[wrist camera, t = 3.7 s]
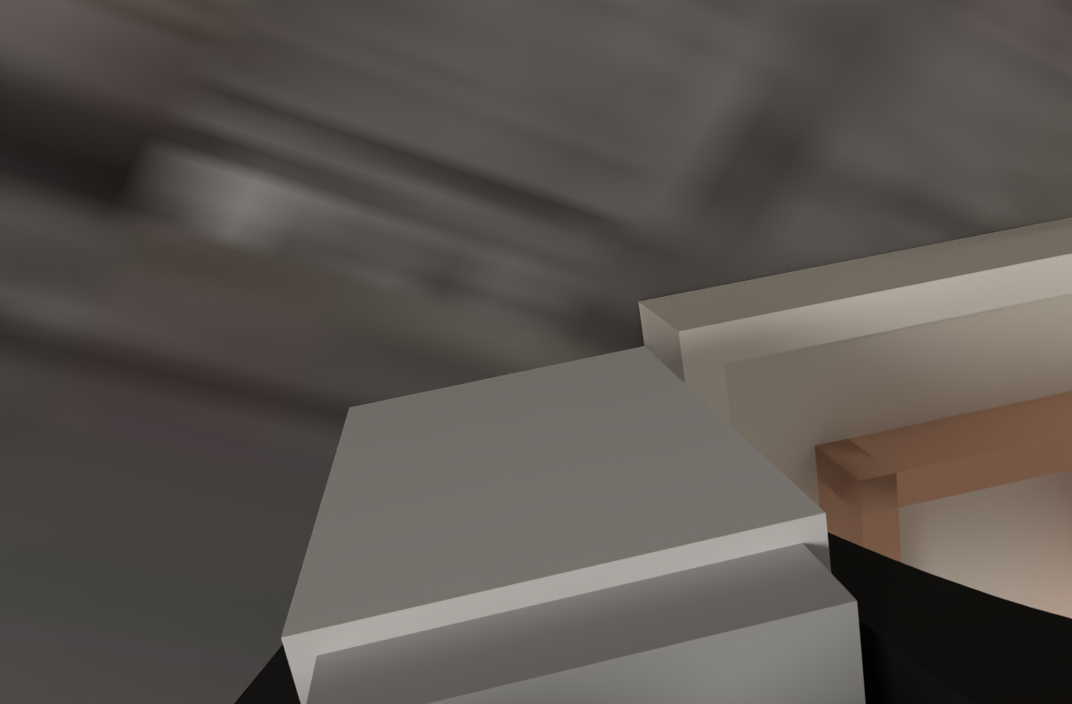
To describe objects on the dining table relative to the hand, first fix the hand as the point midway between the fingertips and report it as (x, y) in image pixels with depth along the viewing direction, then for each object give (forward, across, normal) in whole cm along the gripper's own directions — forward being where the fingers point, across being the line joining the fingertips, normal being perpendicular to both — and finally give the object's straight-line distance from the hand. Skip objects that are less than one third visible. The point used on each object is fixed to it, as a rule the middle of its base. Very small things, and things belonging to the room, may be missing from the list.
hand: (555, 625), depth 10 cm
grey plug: (+2, 0, 0) cm, 2 cm away
